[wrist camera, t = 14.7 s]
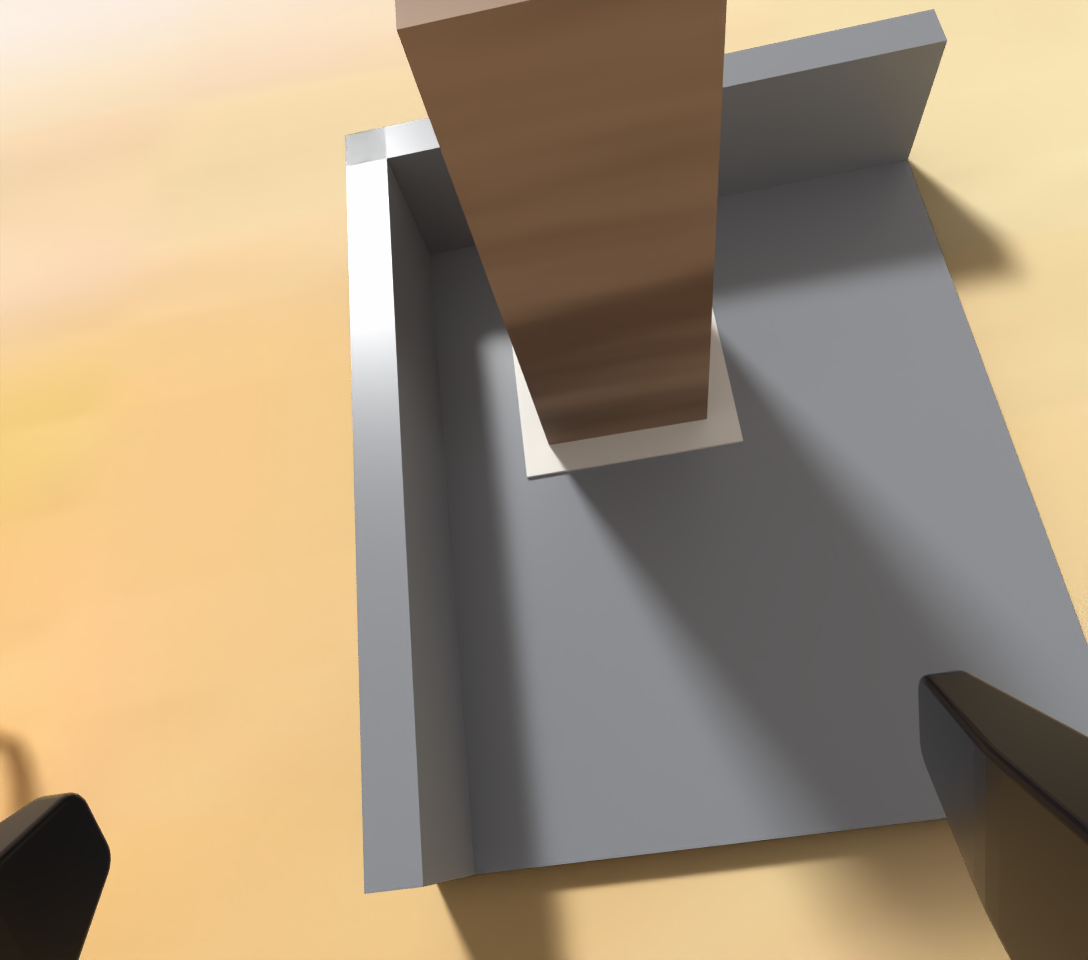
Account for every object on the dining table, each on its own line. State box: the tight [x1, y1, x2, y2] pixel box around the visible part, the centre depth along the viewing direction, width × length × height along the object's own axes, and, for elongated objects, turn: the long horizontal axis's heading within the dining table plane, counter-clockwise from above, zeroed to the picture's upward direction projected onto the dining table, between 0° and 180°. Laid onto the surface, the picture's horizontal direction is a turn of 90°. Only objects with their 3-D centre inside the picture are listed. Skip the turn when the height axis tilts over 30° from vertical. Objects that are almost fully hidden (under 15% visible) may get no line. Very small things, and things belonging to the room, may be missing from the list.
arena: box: [345, 9, 1088, 894], centre depth 22 cm, size 20×17×5 cm
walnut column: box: [395, 0, 727, 445], centre depth 19 cm, size 5×5×14 cm
